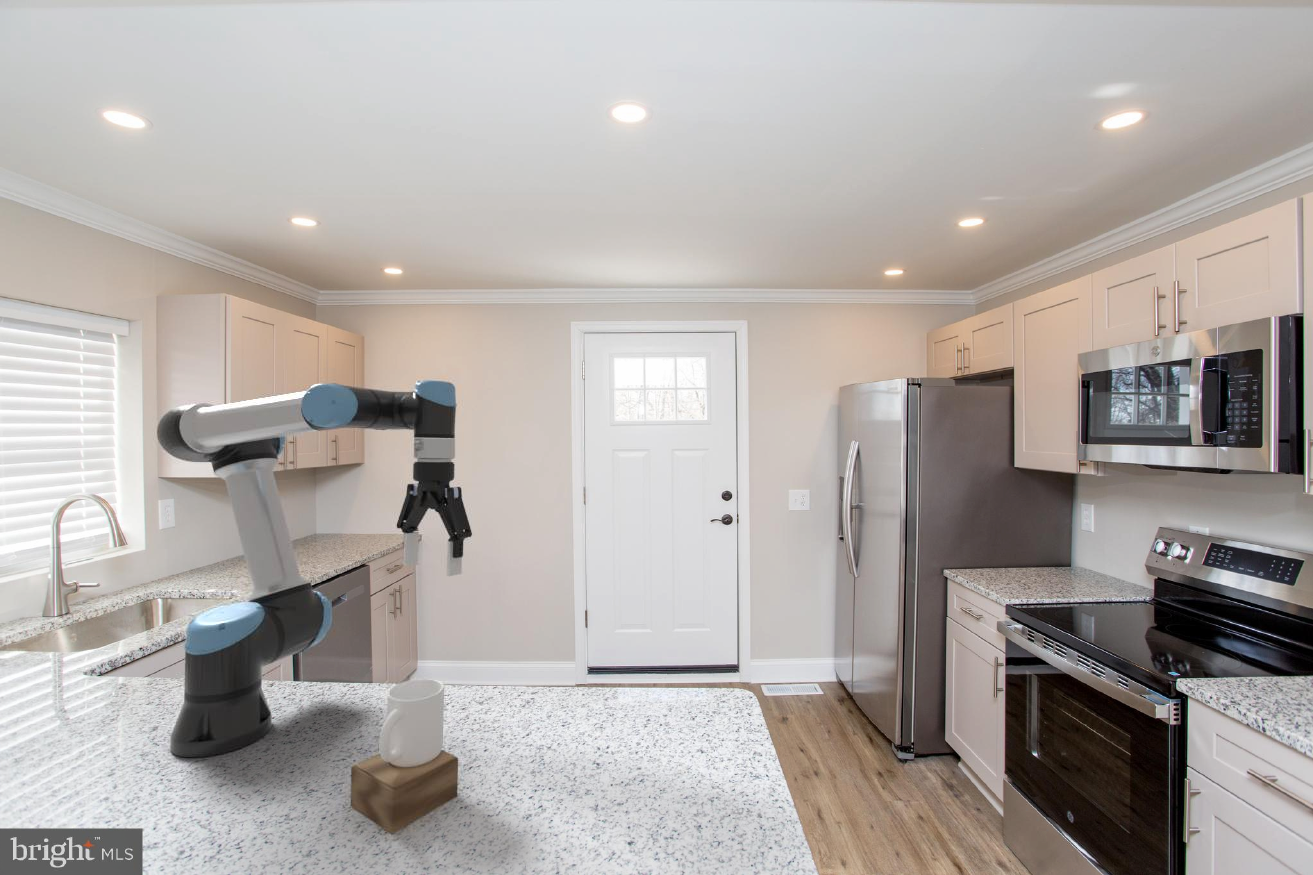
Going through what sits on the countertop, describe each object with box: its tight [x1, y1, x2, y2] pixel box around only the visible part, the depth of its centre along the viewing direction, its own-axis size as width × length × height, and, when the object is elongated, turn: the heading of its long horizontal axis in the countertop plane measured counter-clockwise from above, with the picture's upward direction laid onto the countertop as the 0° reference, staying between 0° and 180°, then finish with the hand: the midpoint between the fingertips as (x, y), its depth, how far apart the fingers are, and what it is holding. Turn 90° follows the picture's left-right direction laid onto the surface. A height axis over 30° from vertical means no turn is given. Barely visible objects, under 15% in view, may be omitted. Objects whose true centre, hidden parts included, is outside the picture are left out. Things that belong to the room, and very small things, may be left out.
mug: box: [378, 678, 445, 767], centre depth 91 cm, size 12×8×10 cm
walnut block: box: [350, 749, 459, 835], centre depth 91 cm, size 11×11×6 cm
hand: (431, 570), depth 114 cm, fingers open, 13 cm apart
